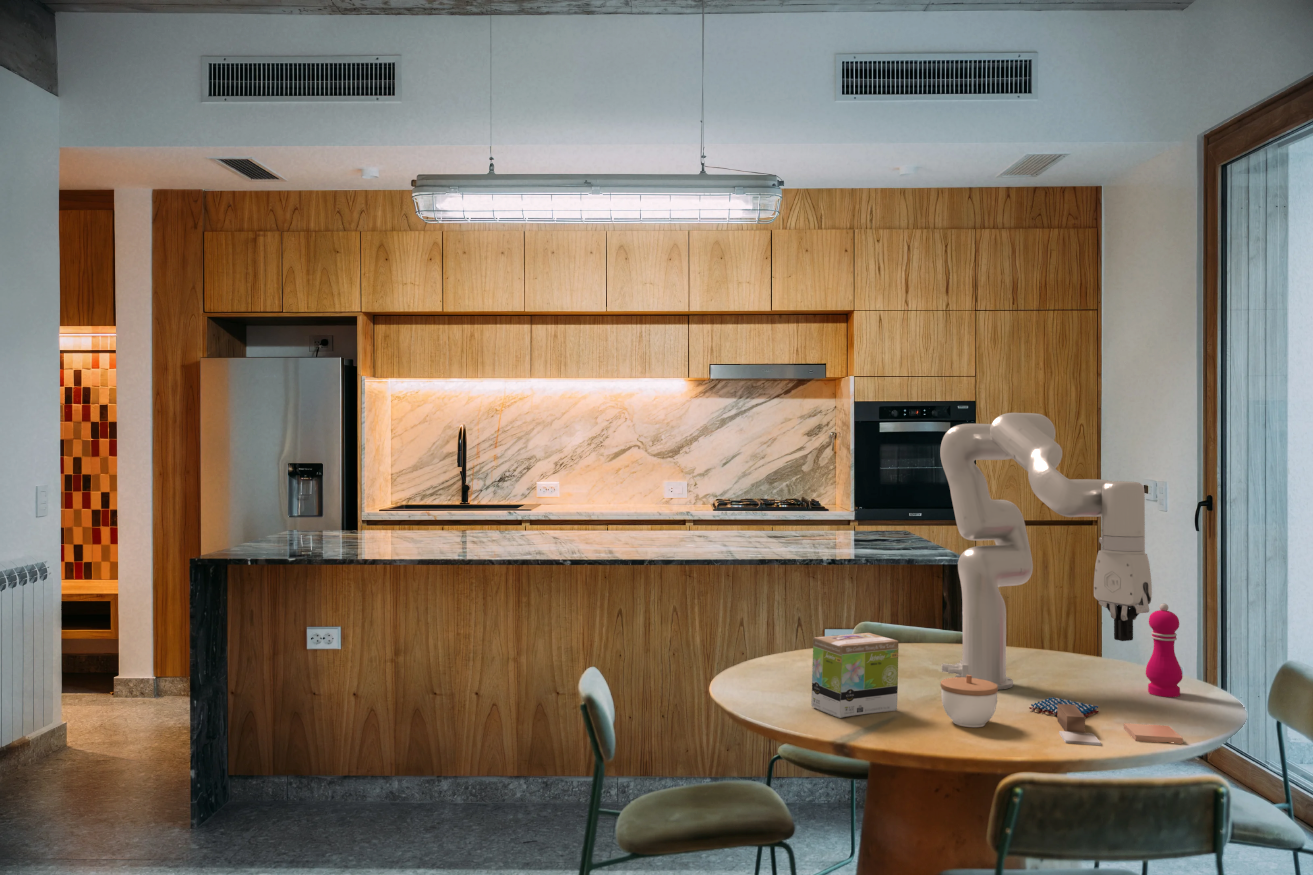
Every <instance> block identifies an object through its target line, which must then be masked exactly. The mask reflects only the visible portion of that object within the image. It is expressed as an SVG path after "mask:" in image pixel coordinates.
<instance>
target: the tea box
mask: <svg viewBox="0 0 1313 875" xmlns="http://www.w3.org/2000/svg"><path fill="white" fill-rule="evenodd" d="M812 640H813V643H812V667H811V668H812V669H811V671H812V672H811V673H812V674H811V704H810V705H811V707H812V708H814V709H817V710H819V711H821V712H823V713H826V714H828V715H831V716H833V717H835V718H838V719H842V718H843V719H844V718H845V717H846V718H847V717H853V716H861V715H868V714H875V713H884V712H886V713H887V712H896V711H897V710H898V690H899V689H898V684H899V642H900V641H899V640H897V639H893V638H889V637H885V636H882V635H879V634H875V633H871V632H864V633H863V632H861V633H850V634H848V633H847V634H840V635H839V634H838V635H827V636H816V637H813V638H812Z"/></svg>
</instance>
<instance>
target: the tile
mask: <svg viewBox="0 0 1313 875" xmlns="http://www.w3.org/2000/svg"><path fill="white" fill-rule="evenodd" d="M1123 730H1125V732H1126V733H1127V734H1128V735H1129V736H1130V737H1131V736H1132V737H1131V739H1133V740H1134V741H1135V742H1144V741H1145V742H1148V743H1159V742H1170V743H1169V744H1172V743H1171V742H1174V743H1173V744H1175V743H1184V742H1183V740H1184V739H1183V737H1182V736H1181V735H1180V734H1179V733H1178V732H1177V731H1175V730H1174V729H1173V728H1172V727H1170V726H1169V725H1161V724H1160V725H1159V724H1143V723H1142V724H1141V723H1129V722H1128V723H1125V722H1124V723H1123Z"/></svg>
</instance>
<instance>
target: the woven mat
mask: <svg viewBox="0 0 1313 875" xmlns="http://www.w3.org/2000/svg"><path fill="white" fill-rule="evenodd" d="M1057 704H1069V705H1075V706H1076V707H1077V708H1078V709H1079V711H1080V712H1081V713H1082V714H1083V715H1084V717H1085V718H1087V717H1090V716H1092V715H1094V714H1097V713H1099V710H1098V709H1099V706H1098V705H1093V704H1092V703H1091V704H1088V703H1084V702H1079V701H1072V700H1070V699H1063V698H1059V697H1054V696H1052V697H1048V698H1045V699H1044V700H1041V701H1038V702H1034V704H1033V703H1031V704H1030V706H1031V707H1029V708H1028V709H1029V710H1031V711H1029V713H1033V712H1034V713H1035V714H1039V715H1046V716H1051V717H1057Z"/></svg>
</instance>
